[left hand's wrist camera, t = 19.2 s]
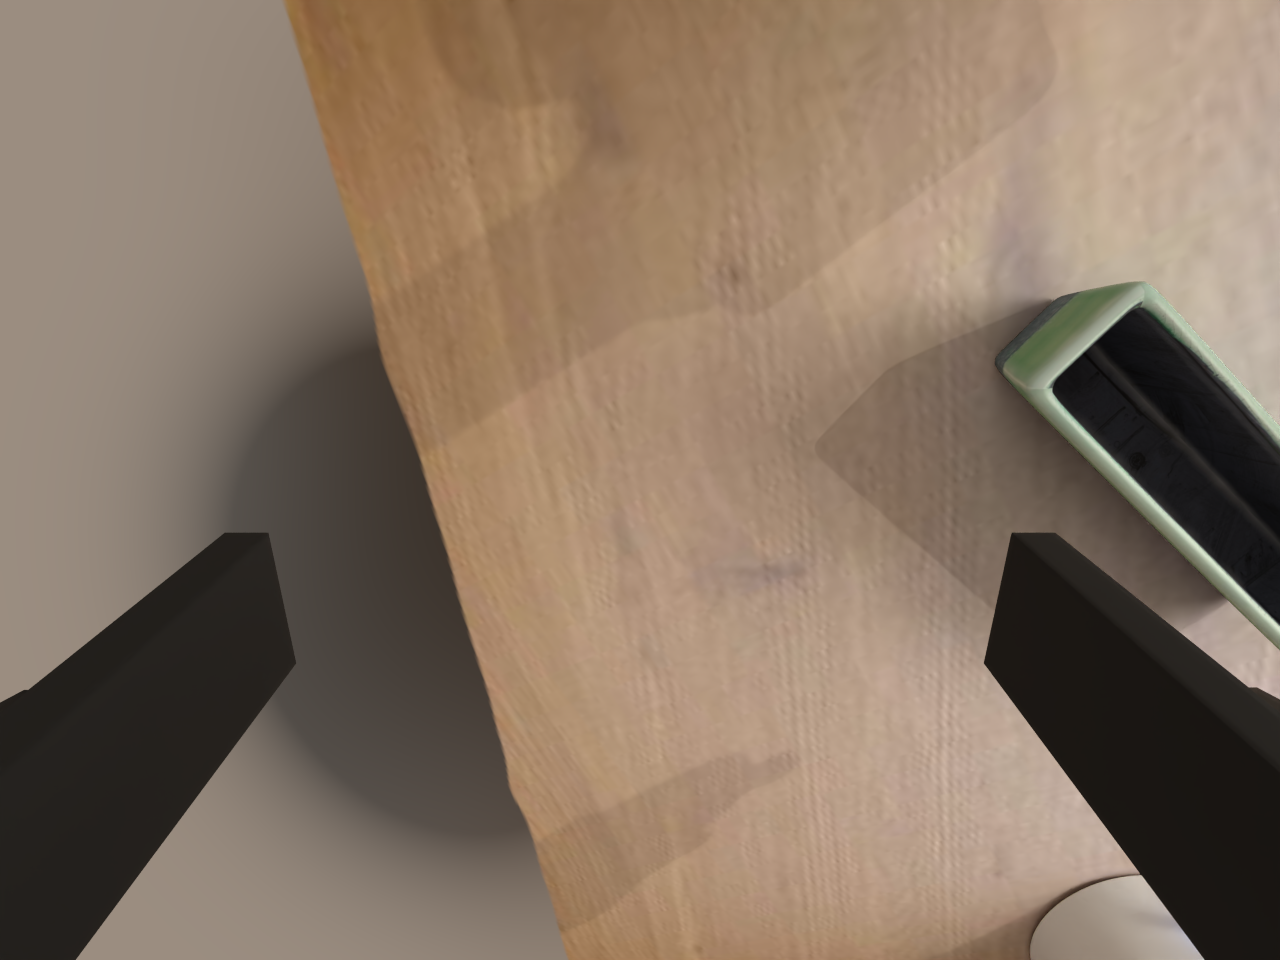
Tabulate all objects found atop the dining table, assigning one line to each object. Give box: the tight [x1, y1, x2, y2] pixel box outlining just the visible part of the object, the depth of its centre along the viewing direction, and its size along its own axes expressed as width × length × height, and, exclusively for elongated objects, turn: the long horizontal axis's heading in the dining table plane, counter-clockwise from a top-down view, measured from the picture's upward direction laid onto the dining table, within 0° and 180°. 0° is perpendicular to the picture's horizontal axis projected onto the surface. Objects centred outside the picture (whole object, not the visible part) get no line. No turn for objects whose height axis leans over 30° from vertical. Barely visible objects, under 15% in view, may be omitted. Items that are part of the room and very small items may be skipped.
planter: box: [995, 282, 1280, 650], centre depth 40 cm, size 28×7×7 cm, turn 50°
